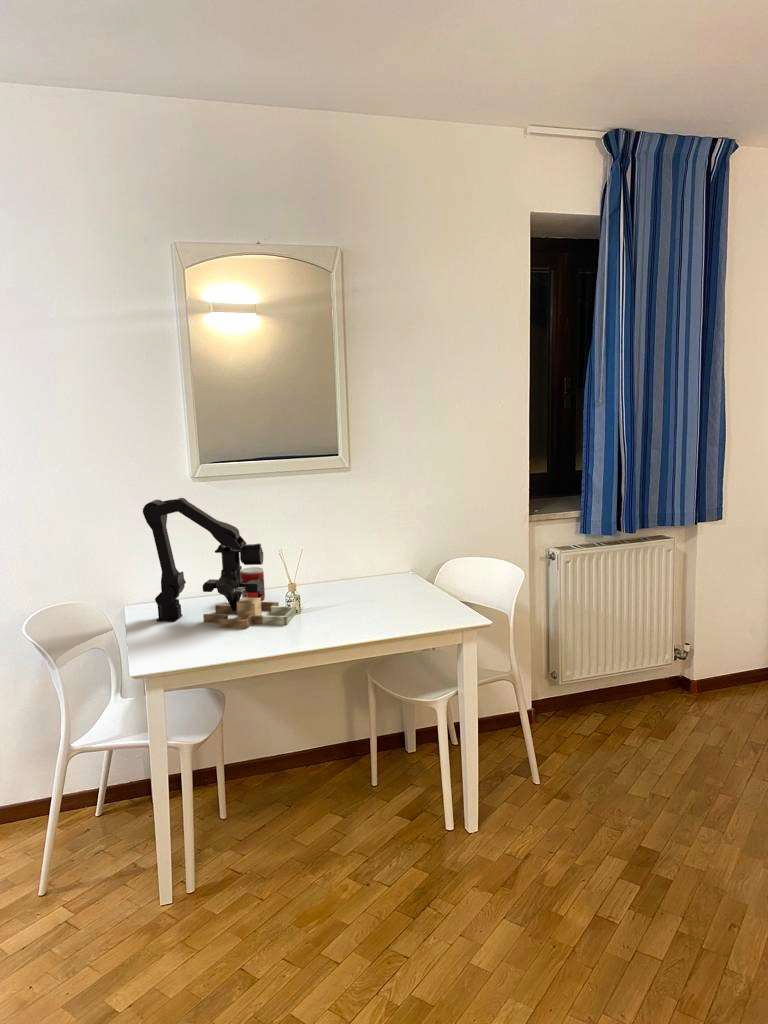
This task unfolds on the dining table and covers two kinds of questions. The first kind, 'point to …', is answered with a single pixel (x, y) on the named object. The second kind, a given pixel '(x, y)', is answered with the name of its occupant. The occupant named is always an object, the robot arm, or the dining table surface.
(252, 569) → the canned food
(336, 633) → the dining table surface
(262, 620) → the channel
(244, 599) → the block
